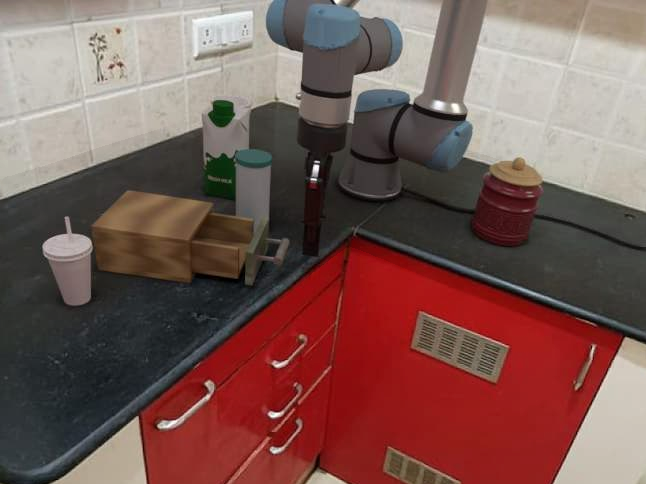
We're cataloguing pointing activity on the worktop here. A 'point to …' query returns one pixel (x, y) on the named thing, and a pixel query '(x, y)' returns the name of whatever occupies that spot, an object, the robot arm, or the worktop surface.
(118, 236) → the cabinet
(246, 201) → the container
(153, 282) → the worktop surface
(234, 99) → the foam cup
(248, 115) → the milk carton
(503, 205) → the kitchen canister
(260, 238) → the drawer
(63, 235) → the smoothie
